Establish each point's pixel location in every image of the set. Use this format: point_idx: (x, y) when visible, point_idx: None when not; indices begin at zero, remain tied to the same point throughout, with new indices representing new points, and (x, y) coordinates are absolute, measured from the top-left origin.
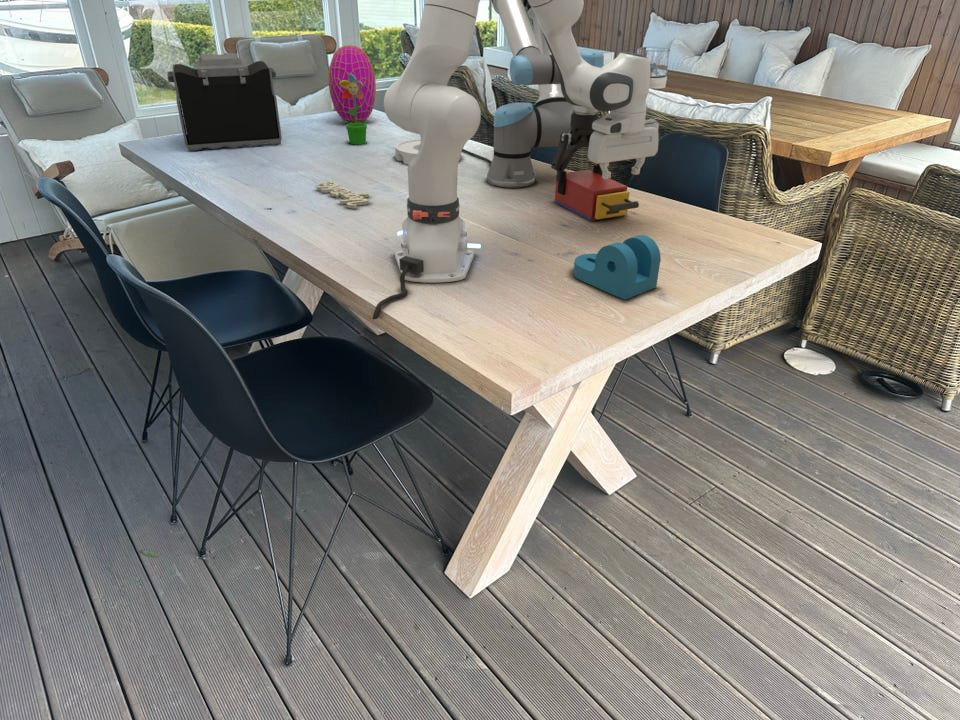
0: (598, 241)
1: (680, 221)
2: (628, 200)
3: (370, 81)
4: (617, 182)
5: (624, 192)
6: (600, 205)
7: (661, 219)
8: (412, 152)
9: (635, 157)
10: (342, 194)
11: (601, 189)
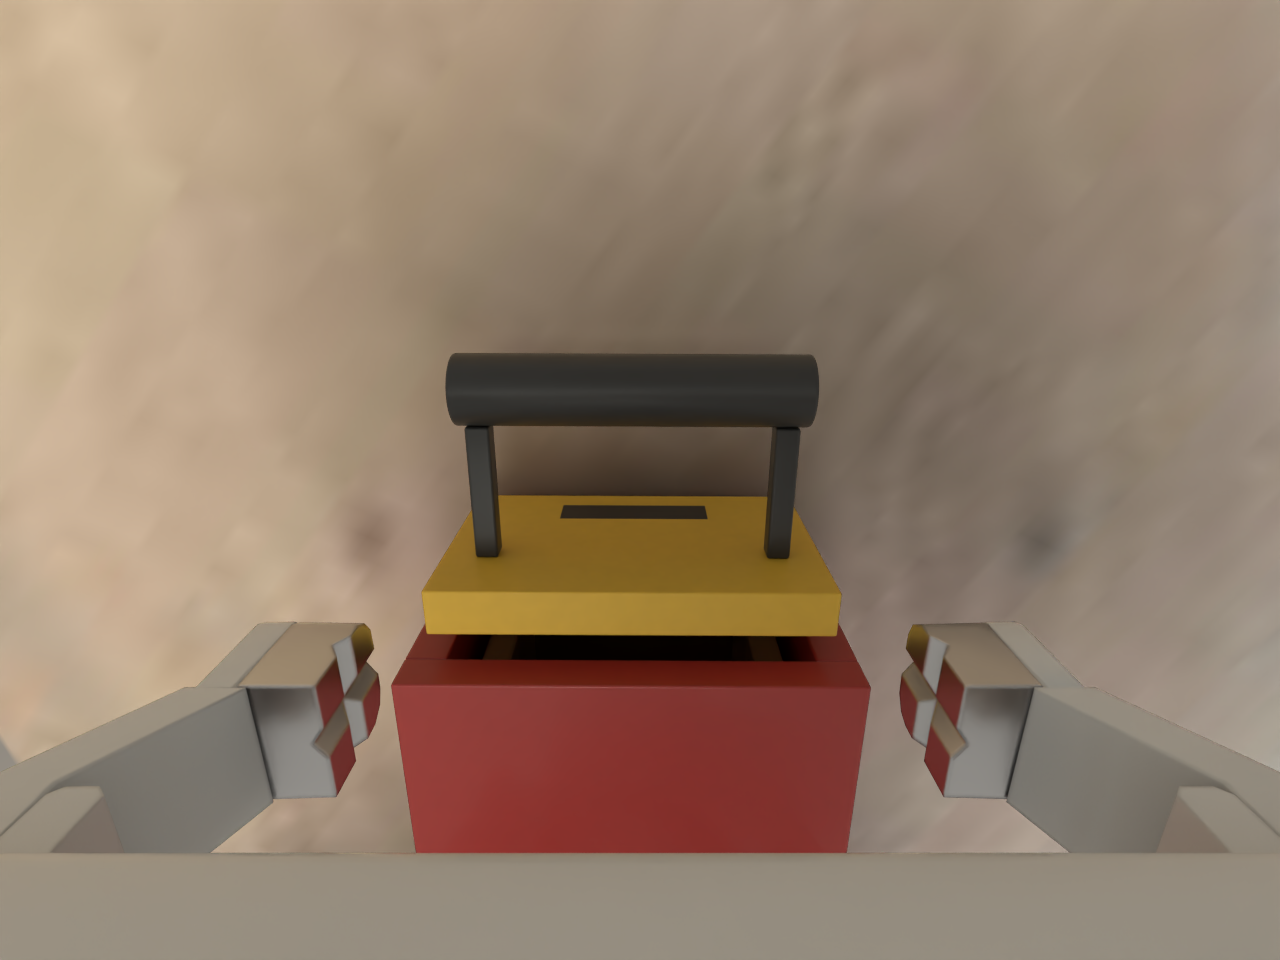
0: (1097, 93)
1: (65, 201)
2: (485, 506)
3: None
4: (422, 820)
5: (484, 604)
6: (796, 547)
7: (216, 325)
8: None
9: (276, 870)
10: None
11: (747, 707)
